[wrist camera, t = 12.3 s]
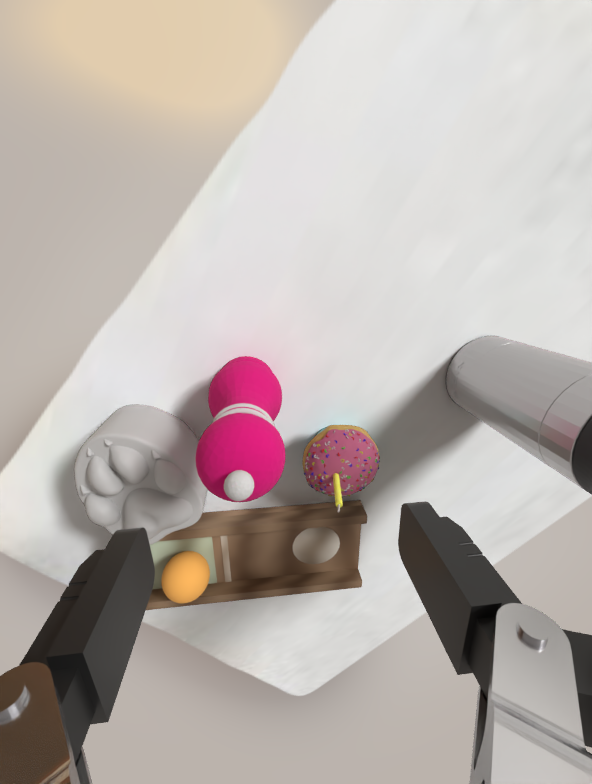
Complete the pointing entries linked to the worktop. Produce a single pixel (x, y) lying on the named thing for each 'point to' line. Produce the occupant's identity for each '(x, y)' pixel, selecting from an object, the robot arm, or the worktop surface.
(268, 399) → the pepper mill
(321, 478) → the cupcake
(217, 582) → the wooden tray
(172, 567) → the ball
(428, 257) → the worktop surface
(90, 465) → the lumpy-topped squat cylinder
